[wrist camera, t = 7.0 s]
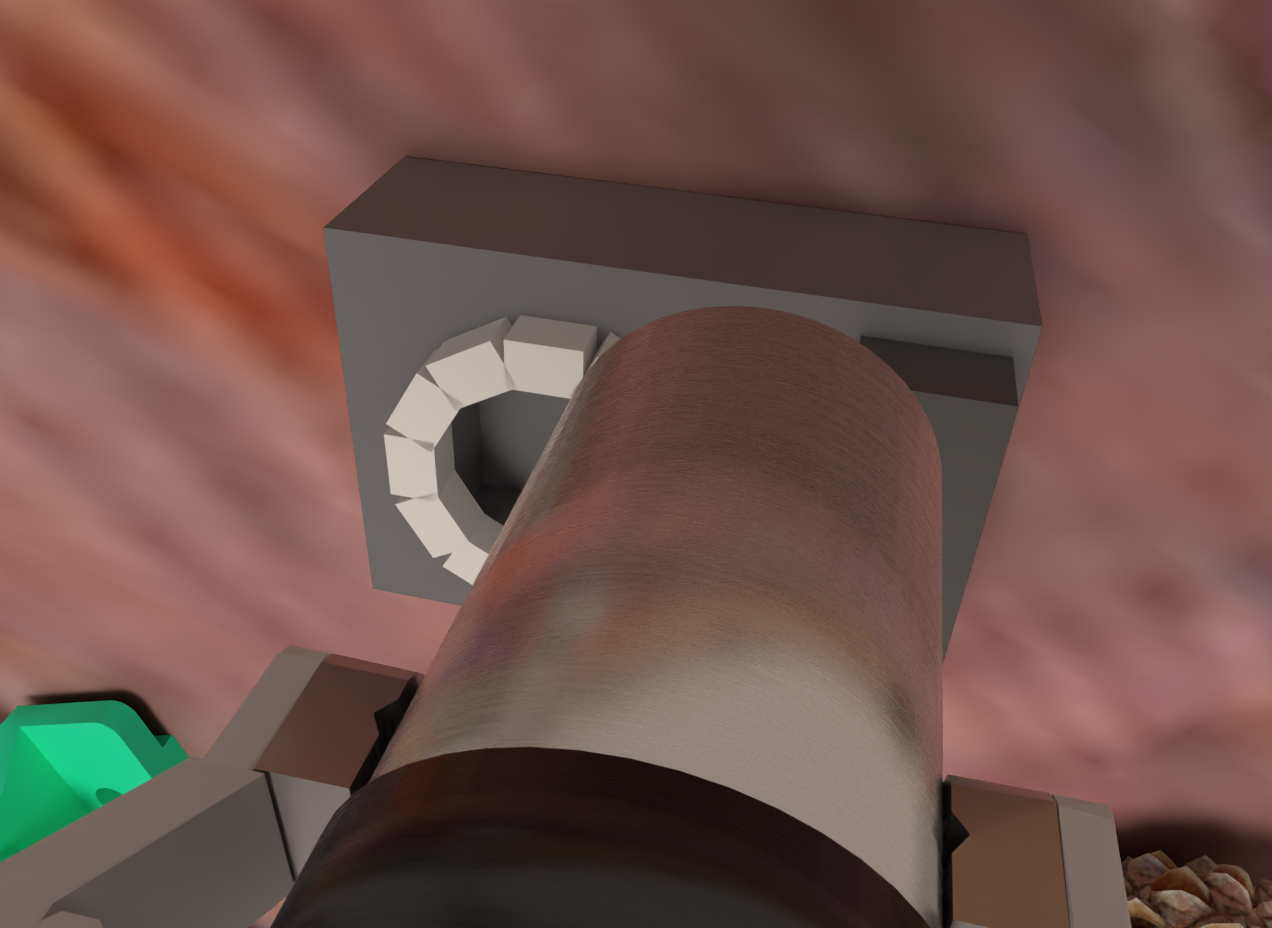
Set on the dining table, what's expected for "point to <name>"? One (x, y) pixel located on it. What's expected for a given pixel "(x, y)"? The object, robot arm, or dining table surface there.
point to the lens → (681, 664)
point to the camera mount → (72, 765)
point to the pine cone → (1194, 894)
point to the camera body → (614, 307)
